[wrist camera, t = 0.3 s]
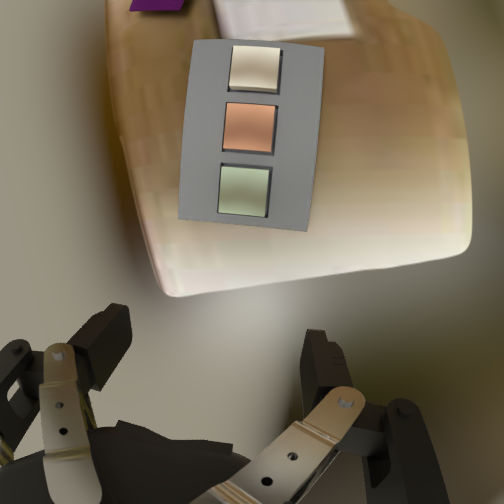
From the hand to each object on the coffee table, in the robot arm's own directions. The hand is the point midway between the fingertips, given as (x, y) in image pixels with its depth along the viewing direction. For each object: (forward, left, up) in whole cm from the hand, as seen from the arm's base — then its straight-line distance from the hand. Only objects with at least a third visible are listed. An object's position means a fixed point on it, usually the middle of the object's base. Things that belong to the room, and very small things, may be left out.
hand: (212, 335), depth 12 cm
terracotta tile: (-11, -1, -23) cm, 25 cm away
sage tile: (-4, -1, -23) cm, 23 cm away
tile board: (-11, -1, -25) cm, 27 cm away
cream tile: (-18, -1, -23) cm, 29 cm away
